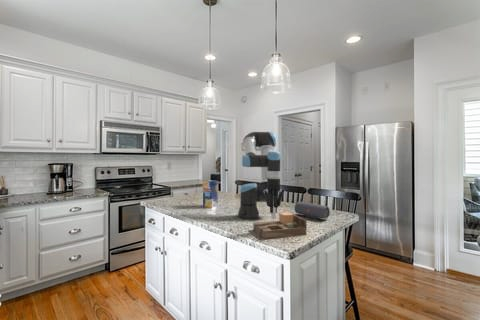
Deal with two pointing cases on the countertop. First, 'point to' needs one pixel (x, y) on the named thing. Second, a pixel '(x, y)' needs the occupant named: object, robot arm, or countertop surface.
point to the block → (286, 218)
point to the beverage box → (210, 193)
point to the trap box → (281, 228)
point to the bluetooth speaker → (312, 210)
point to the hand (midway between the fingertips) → (273, 218)
